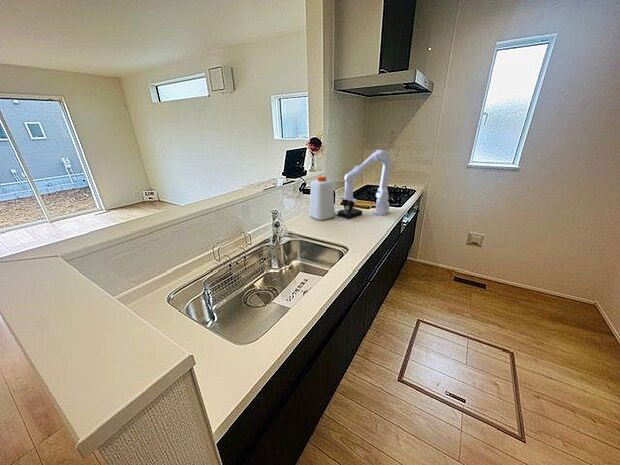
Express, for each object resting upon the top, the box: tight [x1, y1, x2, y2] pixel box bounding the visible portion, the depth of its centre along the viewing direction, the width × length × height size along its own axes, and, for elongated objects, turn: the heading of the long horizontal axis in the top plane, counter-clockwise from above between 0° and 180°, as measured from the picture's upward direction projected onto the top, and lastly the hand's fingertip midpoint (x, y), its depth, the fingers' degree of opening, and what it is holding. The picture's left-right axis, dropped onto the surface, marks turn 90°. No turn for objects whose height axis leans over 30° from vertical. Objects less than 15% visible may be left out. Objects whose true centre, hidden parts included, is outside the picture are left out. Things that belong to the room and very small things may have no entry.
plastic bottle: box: [309, 175, 336, 221], centre depth 173 cm, size 15×15×28 cm
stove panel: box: [337, 207, 363, 220], centre depth 179 cm, size 14×10×3 cm
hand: (348, 210), depth 179 cm, fingers closed on knob, 4 cm apart
